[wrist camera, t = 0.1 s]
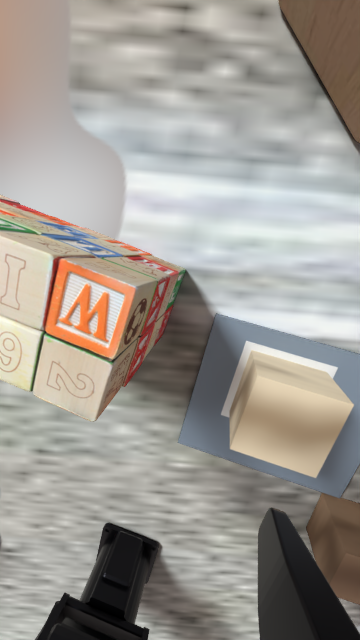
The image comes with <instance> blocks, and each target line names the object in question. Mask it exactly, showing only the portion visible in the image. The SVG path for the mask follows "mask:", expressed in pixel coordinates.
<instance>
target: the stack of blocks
mask: <svg viewBox="0 0 360 640" xmlns="http://www.w3.org/2000/svg"><path fill="white" fill-rule="evenodd" d="M185 271H186V269H184V268H182V267H179V266H177V265H174V264H172V263H169V262H167V261H164V260H162V259H159V258H157V257H154V256H152V255H151V254H150V253H147V252H145V251H142V250H140V249H137V248H135V247H132V246H130V245H127V244H125V243H122V242H119V241H117V240H115V239H112V238H110V237H108V236H105V235H103V234H100V233H97V232H95V231H92V230H90V229H87V228H82V227H79V226H76V225H73V224H70V223H68V222H66V221H63V220H60V219H58V218H56V217H52V216H48V215H46V214H43V213H41V212H38V211H36V210H33V209H31V208H28V207H26V206H23V205H20V203H19V202H17V201H15V200H12V199H9V198H7V197H5V196H2V195H0V380H2V381H5V382H7V383H9V384H12V385H14V386H16V387H19V388H21V389H24V390H25V391H29V392H31V391H33V394H34V395H35V396H36V397H38V398H40V399H42V400H44V401H47V402H49V403H51V404H54V405H56V406H58V407H60V408H62V409H65V410H67V411H69V412H71V413H73V414H76V415H78V416H80V417H82V418H84V419H86V420H89V421H93V422H94V421H96V420H97V419H98V417H99V416H100V415H101V413H102V412H103V411H104V409H105V408H106V407H107V405H108V404H109V403H110V401H111V400H112V399H113V397H114V396H115V395H116V394H117V392H118V391H119V389H120V388H121V386H122V387H125V386H126V385H127V383H128V382H129V381H130V379H131V378H132V377H133V375H134V374H135V372H136V371H137V370H138V368H139V367H140V366H141V364H142V362H143V360H144V359H145V357H146V356H147V355H148V353H149V352H150V350H151V349H152V347H154V346H155V344H156V343H157V342H158V340H159V339H160V338H161V336H162V335H163V332H164V329H165V327H166V324H167V321H168V319H169V316H170V313H171V310H172V308H173V303H174V300H175V298H176V295H177V292H178V290H179V287H180V285H181V282H182V279H183V276H184V274H185Z"/></svg>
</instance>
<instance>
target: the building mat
mask: <svg viewBox="0 0 360 640" xmlns="http://www.w3.org/2000/svg"><path fill="white" fill-rule="evenodd" d="M251 350H253V351H257V352H260V353H264V354H267V355H270V356H274V357H277V358H281V359H284V360H287V361H291V362H294V363H298V364H301V365H304V366H308V367H311V368H315V369H318V370H321V371H325V372H327V373H328V374H329V375H330V376H331V378H332V379H333V380H334V381H335V382H336V384H337V385H338V386H339V387H340V388H341V390H342V391H343V392H344V393H345V394H346V396H347V397H348V398H349V399H350V400H351V402H352V403H353V404H354V406H353V408H352V410H351V412H350V414H349V416H348V418H347V420H346V422H345V423H344V425H343V427H342V429H341V431H340V433H339V435H338V437H337V439H336V441H335V443H334V444H333V446H332V448H331V450H330V452H329V454H328V456H327V458H326V460H325V462H324V464H323V466H322V467H321V469H320V471H319V473H318V475H317V477H316V478H314V477H311V476H308V475H305V474H302V473H299V472H296V471H293V470H290V469H287V468H284V467H281V466H278V465H275V464H272V463H270V462H267V461H264V460H261V459H258V458H255V457H252V456H249V455H246V454H243V453H240V452H237V451H234V450H231V449H230V419H229V411H230V408H231V405H232V403H233V400H234V397H235V394H236V391H237V389H238V386H239V383H240V380H241V377H242V375H243V372H244V369H245V366H246V363H247V361H248V358H249V355H250V352H251ZM178 443H180V444H183V445H186V446H189V447H192V448H195V449H197V450H200V451H203V452H206V453H209V454H212V455H215V456H218V457H221V458H224V459H227V460H229V461H232V462H235V463H238V464H241V465H244V466H247V467H250V468H253V469H256V470H258V471H261V472H264V473H267V474H270V475H273V476H276V477H279V478H282V479H285V480H287V481H290V482H293V483H296V484H299V485H302V486H305V487H308V488H311V489H314V490H317V491H319V492H322V493H325V494H328V495H331V496H334V497H337V498H340V497H341V495H342V494H343V492H344V490H345V488H346V487H347V485H348V483H349V481H350V480H351V478H352V476H353V475H354V473H355V471H356V469H357V468H358V466H359V464H360V354H358V353H354V352H351V351H347V350H344V349H340V348H337V347H333V346H330V345H326V344H323V343H319V342H316V341H312V340H309V339H305V338H301V337H298V336H294V335H291V334H287V333H284V332H280V331H277V330H273V329H270V328H266V327H263V326H259V325H256V324H252V323H248V322H245V321H241V320H238V319H234V318H231V317H227V316H224V315H220V314H217V313H216V316H215V319H214V323H213V326H212V329H211V333H210V336H209V340H208V343H207V346H206V350H205V353H204V356H203V360H202V363H201V366H200V370H199V373H198V376H197V380H196V383H195V387H194V390H193V393H192V397H191V400H190V403H189V407H188V410H187V413H186V417H185V420H184V423H183V427H182V430H181V434H180V437H179V440H178Z"/></svg>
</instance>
